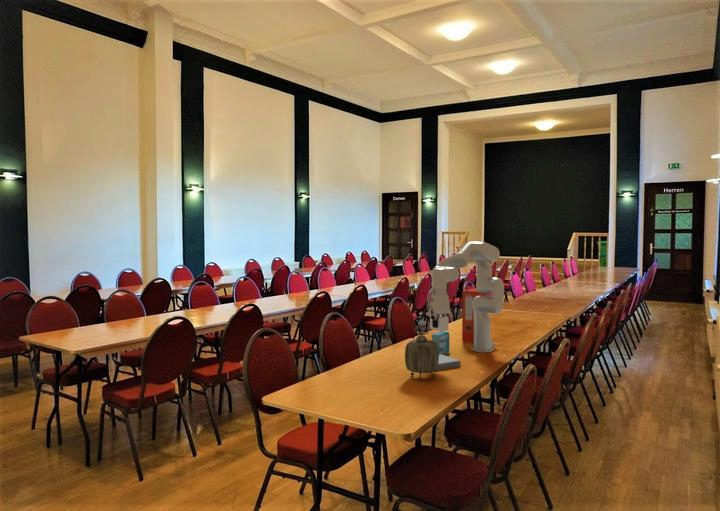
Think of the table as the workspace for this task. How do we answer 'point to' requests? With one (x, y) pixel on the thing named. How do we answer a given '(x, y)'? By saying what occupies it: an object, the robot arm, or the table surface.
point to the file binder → (468, 314)
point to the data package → (442, 341)
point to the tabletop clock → (421, 355)
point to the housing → (441, 323)
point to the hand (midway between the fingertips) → (439, 326)
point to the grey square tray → (447, 362)
